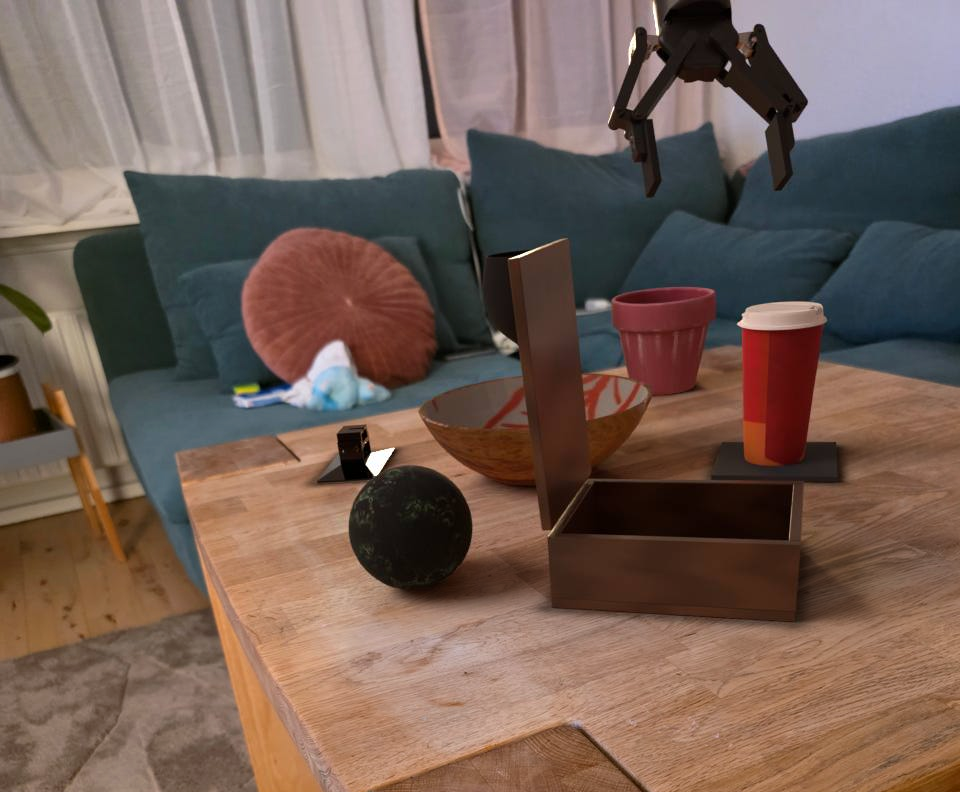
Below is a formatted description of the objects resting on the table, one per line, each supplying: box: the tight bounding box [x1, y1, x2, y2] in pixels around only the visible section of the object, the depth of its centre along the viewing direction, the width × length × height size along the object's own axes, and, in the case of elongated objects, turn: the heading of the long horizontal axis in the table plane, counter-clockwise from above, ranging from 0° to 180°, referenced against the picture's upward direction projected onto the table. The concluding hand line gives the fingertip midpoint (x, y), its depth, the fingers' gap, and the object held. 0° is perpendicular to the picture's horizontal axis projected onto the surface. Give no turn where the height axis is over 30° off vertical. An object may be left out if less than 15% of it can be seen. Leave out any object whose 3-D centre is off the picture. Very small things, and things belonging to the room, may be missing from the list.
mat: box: [710, 441, 839, 483], centre depth 94 cm, size 12×12×1 cm
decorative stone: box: [348, 464, 474, 591], centre depth 72 cm, size 10×10×10 cm
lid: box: [508, 237, 592, 532], centre depth 67 cm, size 19×14×1 cm
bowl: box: [417, 372, 653, 487], centre depth 97 cm, size 25×25×8 cm
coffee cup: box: [736, 301, 828, 466], centre depth 90 cm, size 8×8×15 cm
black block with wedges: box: [315, 424, 396, 485], centre depth 107 cm, size 12×7×5 cm, turn 175°
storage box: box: [546, 478, 805, 622], centre depth 70 cm, size 18×14×6 cm
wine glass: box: [482, 249, 532, 348], centre depth 124 cm, size 10×10×20 cm
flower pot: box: [611, 286, 717, 396], centre depth 126 cm, size 14×14×13 cm
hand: (719, 186), depth 89 cm, fingers open, 13 cm apart
